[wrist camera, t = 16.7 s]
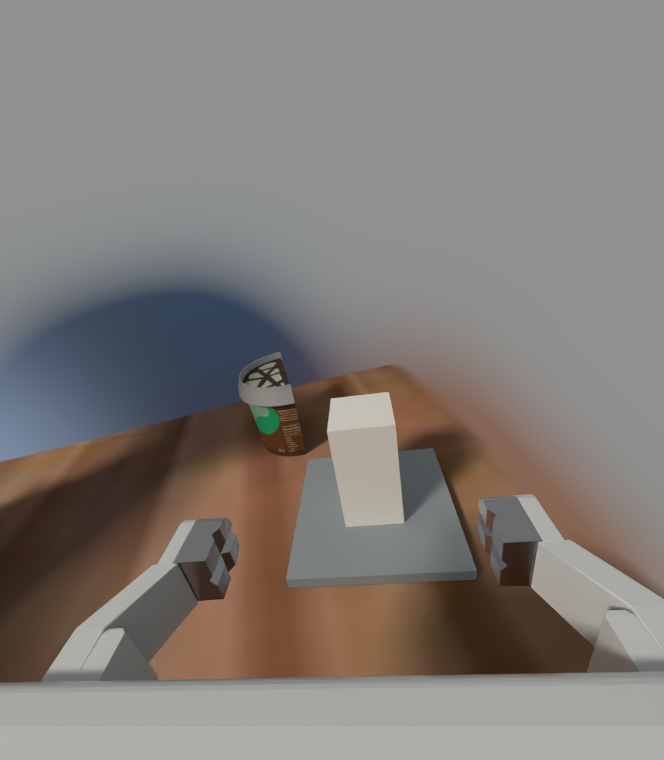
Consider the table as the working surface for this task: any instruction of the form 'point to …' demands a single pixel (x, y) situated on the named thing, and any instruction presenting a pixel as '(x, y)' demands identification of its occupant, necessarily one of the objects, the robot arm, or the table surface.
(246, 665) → the table surface
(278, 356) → the food container
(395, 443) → the tall white pillar
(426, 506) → the post stand
